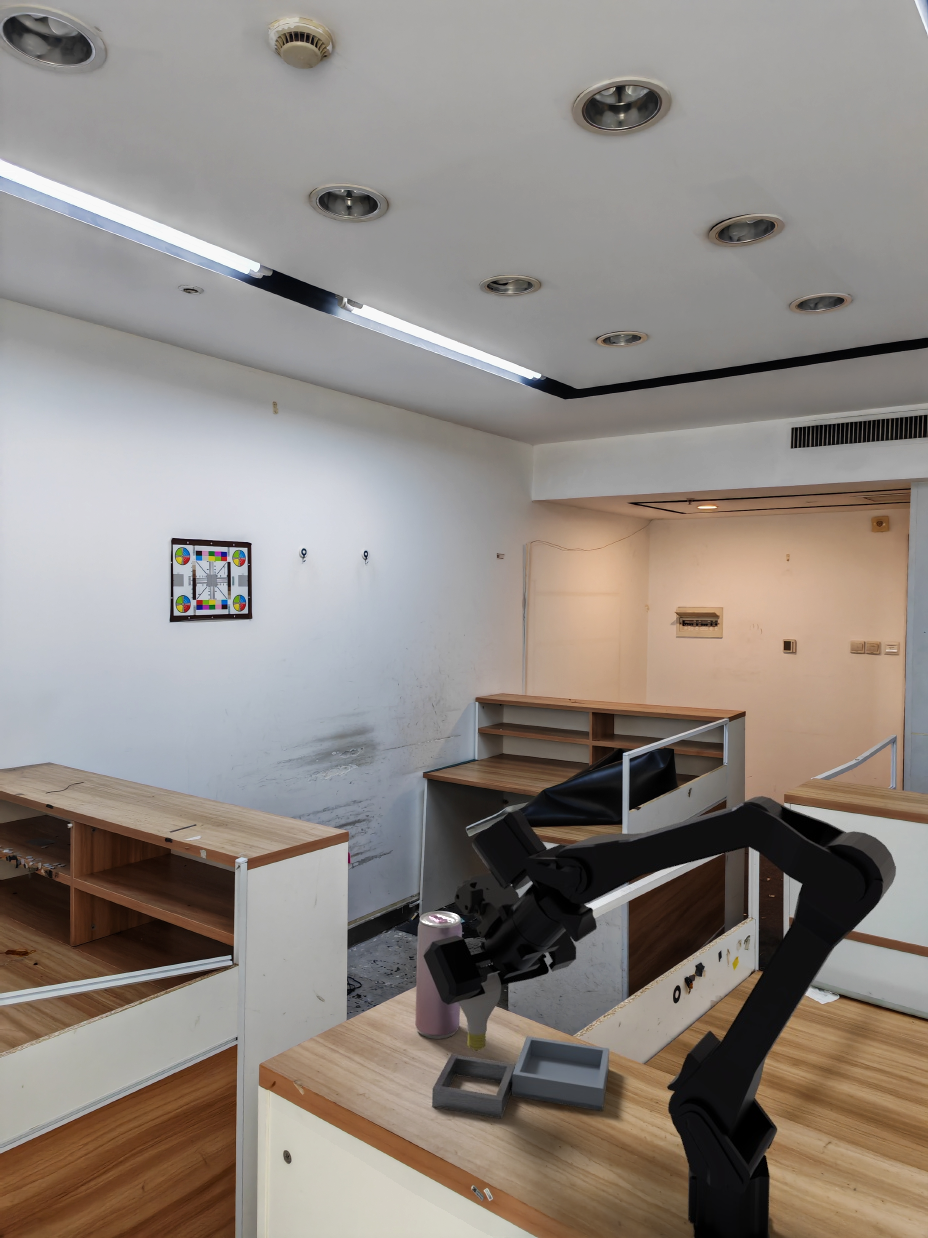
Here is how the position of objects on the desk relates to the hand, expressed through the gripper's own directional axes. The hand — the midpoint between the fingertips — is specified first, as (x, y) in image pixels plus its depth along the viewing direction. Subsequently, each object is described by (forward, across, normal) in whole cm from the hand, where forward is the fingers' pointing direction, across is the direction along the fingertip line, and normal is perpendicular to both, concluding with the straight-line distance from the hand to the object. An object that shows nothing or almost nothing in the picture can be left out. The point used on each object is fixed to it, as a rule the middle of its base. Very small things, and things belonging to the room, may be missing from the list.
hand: (470, 989), depth 96 cm
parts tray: (+4, -10, +12) cm, 16 cm away
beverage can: (+18, -5, -2) cm, 19 cm away
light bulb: (+4, 0, +6) cm, 7 cm away
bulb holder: (+7, 0, +9) cm, 12 cm away
